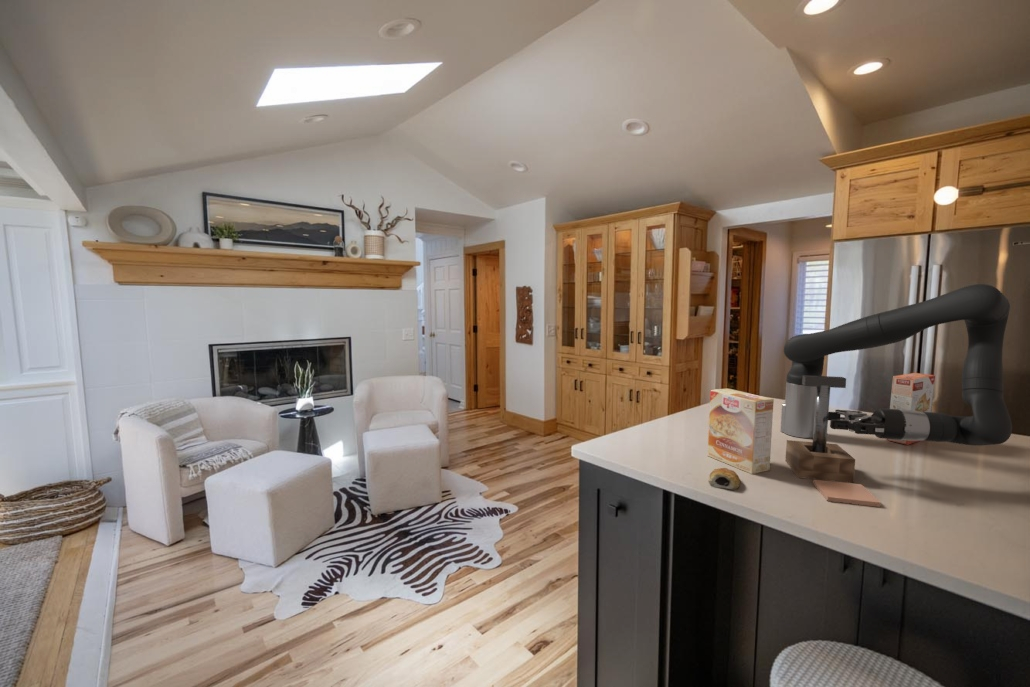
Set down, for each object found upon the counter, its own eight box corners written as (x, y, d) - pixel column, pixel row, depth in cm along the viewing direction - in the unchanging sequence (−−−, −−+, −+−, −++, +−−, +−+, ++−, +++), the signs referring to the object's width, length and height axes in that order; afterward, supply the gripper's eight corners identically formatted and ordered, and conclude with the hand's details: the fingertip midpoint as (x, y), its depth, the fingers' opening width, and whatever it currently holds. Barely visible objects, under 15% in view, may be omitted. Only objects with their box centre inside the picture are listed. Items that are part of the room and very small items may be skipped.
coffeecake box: (706, 456, 132) (709, 389, 129) (724, 452, 134) (727, 387, 132) (751, 474, 118) (755, 400, 116) (770, 470, 121) (775, 398, 119)
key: (800, 464, 119) (806, 377, 117) (796, 459, 123) (801, 374, 120) (840, 468, 116) (847, 379, 114) (834, 463, 120) (841, 376, 118)
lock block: (798, 477, 116) (799, 454, 115) (785, 460, 127) (786, 440, 127) (853, 483, 112) (855, 459, 112) (835, 465, 124) (836, 444, 123)
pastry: (713, 474, 119) (714, 459, 119) (742, 479, 116) (742, 465, 115) (707, 487, 111) (708, 471, 111) (738, 493, 108) (739, 477, 107)
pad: (827, 501, 103) (827, 496, 103) (813, 483, 112) (813, 479, 112) (880, 507, 100) (880, 502, 100) (860, 488, 109) (861, 484, 109)
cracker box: (908, 446, 139) (915, 378, 137) (885, 440, 144) (891, 375, 142) (930, 439, 146) (936, 374, 143) (906, 434, 151) (912, 371, 149)
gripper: (887, 403, 120) (816, 399, 124) (916, 417, 106) (836, 412, 111) (884, 430, 121) (814, 426, 125) (913, 448, 107) (833, 442, 112)
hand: (824, 419), depth 118 cm, fingers open, 8 cm apart
